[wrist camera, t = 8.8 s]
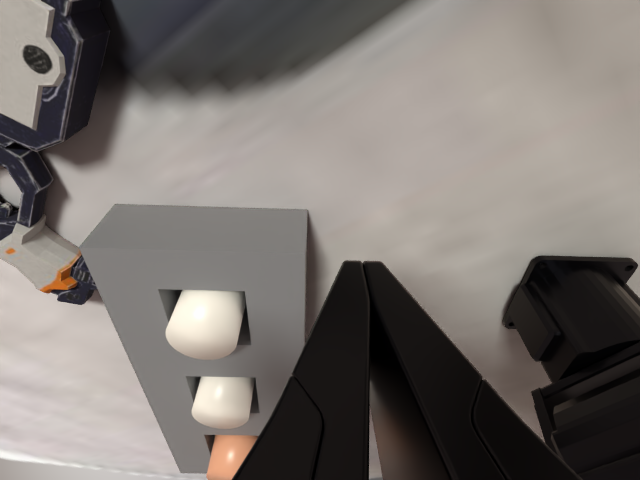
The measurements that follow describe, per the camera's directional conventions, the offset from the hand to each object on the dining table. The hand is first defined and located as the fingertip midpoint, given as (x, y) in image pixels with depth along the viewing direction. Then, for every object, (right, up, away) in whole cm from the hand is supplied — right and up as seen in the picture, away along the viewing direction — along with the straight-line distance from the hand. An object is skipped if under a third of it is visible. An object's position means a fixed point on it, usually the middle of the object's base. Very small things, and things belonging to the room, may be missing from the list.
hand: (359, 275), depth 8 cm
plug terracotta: (-8, -15, +25) cm, 30 cm away
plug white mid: (-8, -8, +21) cm, 23 cm away
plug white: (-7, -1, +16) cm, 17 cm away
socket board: (-8, -8, +21) cm, 23 cm away
